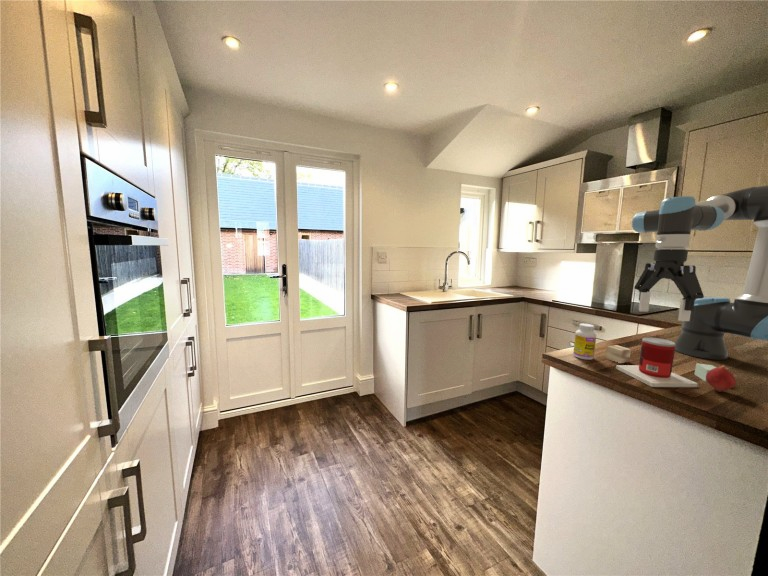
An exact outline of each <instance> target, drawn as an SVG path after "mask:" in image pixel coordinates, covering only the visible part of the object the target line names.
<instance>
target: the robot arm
mask: <svg viewBox="0 0 768 576" xmlns="http://www.w3.org/2000/svg"><path fill="white" fill-rule="evenodd" d="M731 220H732V221H748V220H752V221H753V223H752V224H753V225H755V226H756V227H757V228H758V230H757V234H756V237H755V242H754V246H753V250H752V254H751V259H750V262H749V267H748V270H747V274H746V278H745V283H744V287H743V290H742V294H740V295H738V296H736V297H735V298H734V301H733V302H731V299H730V298H729V297H711V296H710V297H708V296H706V297H705V296H704V293H703V290H702V287H701V285H700V281H699V280H698V276H697V274H696V273H697V271H696V269H697V267H696V265H685V262H686V261H687V260H688V253H689V250H688V249H687V248H690V241H691V239H690V238H691V232H692V231H699V232H700V231H709V230H713V229H716V228H718V227H719V226H721V224H722V223H723V221H731ZM631 227H632V229H633V230H634V231H635V232H637V233H645V234H647V233H656V238H655V246H654V247H655V248H656V249H655V250H654V254H653V261H654V263H652V262H646V263H645V266H644V269H643V272H642V273H641V275H640V277H639V278H638V280H637V282H636V283H635V285H634V287H633V289H635V290H638V292H639V294H638V302H639V304H638V312H649V309H650V301H651V300H650V299H651V293H652V292H651V289H652V288H653V287H654V286H655V285H657V284H658V282H659V281H660V280H661V279H666V280H671V281H673V282H674V284H675V286H676V288H677V289H678V290H679V292H680V294H681V295H682V298H681V299H680V304H679V310H678V318H677V321H679V322H682V327H681V328H682V329H681V332H680V334H679V335H678V337H677V339H676V341H675V342H674V343H675V351H676V352H678V353H680V354H684V355H687V356H692V357H697V358H702V359H707V360H715V361H716V360H718V361H719V360H720V361H721V360H722V361H723V360H727V359H728V355H729V352H728V350H727V346H726V342H725V338H724V337H725V334H730V335H735V336H740V337H744V338H750V339H752V340H757V341H758V340H759V341H765V342H768V184H766V185H761V186H752V187H746V188H741V189H738V190H737V189H736V190H733V191H730V192H727V193H723V194H718V195H713V196H711V197H710V198H708V199H706V200H701V201H697V202H696V198H695V197H694V196H690V195H683V196H673V197H666V198H664V199H663V200H662V201H661V203H660V208H659V209H654V210H646V211H641V212H637V213H636V214H635V215H634V216H633V218H632V219H631Z"/></svg>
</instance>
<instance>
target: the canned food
mask: <svg viewBox="0 0 768 576" xmlns="http://www.w3.org/2000/svg"><path fill="white" fill-rule="evenodd" d="M675 351H676V350H675V342H674V341H671V340H668V339H663V338H659V337H658V338H657V337H649V336H648V337H642V339H641V346H640V353H639V354H640V355H639V362H638V365H639V370H640V371H641V372H642V373H644V374H647V375H650V376H654V377H660V378H668V377H670V376H671V372H672V371H673V366H674V365H673V364H674V359H675ZM672 373H673V372H672Z"/></svg>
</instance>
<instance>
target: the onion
mask: <svg viewBox="0 0 768 576" xmlns="http://www.w3.org/2000/svg"><path fill="white" fill-rule="evenodd" d="M706 380H707V382H706V383H708V384H709V386H711V387H712V388H713V389H715V390H716V391H717V392H724V391H727V390H729V389H733V388H734V387H735V385H736V384H737V379H736V377H735V376H734V375H733V373H732V372H730V371H729V370H728V369H727V368H726V366H725V365H721V366H718V367H716V368H714V369H712V370H710V371H709V372H708V373H707V374H706Z"/></svg>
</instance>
